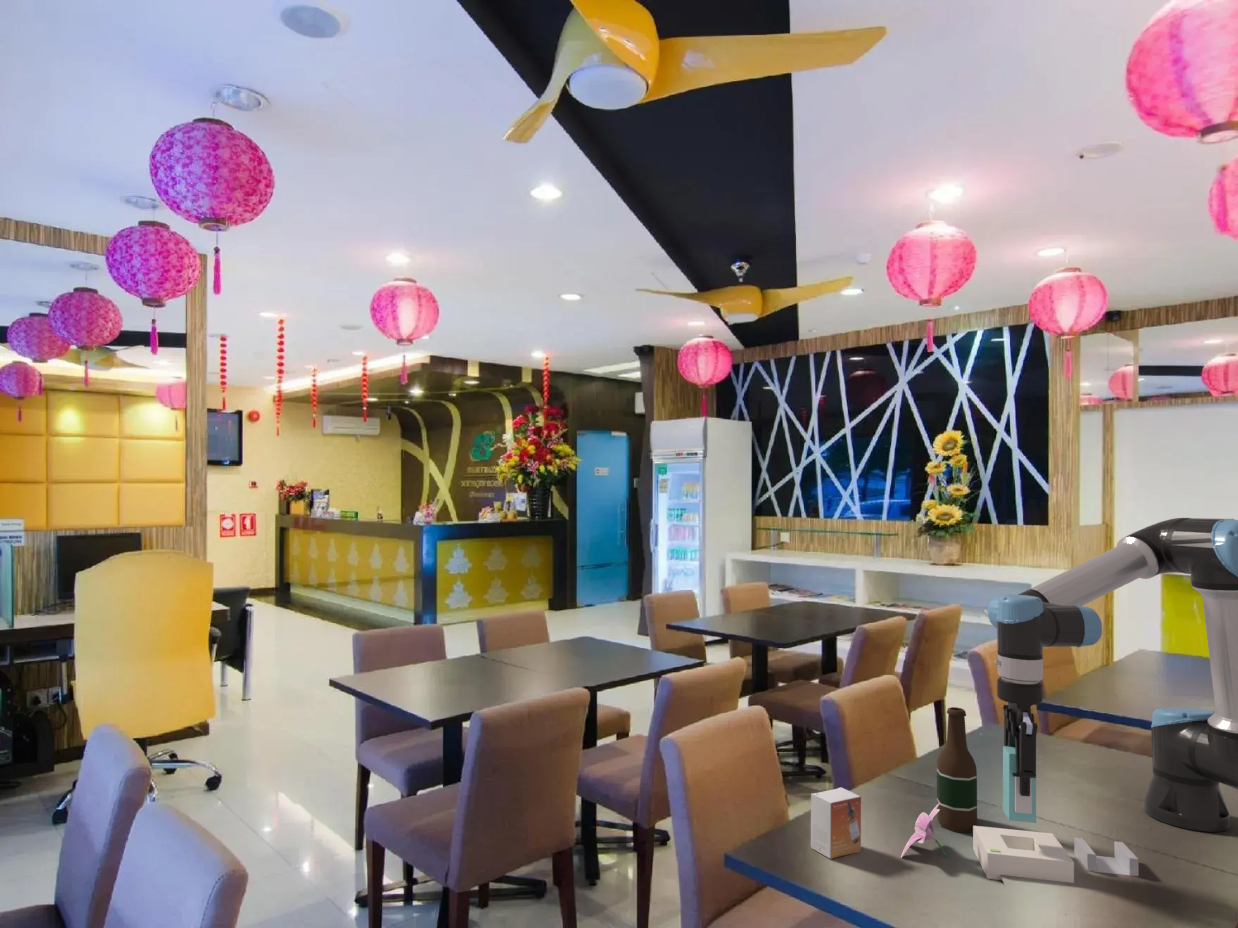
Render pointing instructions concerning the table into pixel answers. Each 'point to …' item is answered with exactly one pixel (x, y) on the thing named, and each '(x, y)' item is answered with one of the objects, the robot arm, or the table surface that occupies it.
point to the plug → (1009, 789)
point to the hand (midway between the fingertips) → (1019, 806)
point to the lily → (924, 830)
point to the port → (1021, 854)
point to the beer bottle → (956, 778)
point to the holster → (1107, 859)
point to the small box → (836, 822)
